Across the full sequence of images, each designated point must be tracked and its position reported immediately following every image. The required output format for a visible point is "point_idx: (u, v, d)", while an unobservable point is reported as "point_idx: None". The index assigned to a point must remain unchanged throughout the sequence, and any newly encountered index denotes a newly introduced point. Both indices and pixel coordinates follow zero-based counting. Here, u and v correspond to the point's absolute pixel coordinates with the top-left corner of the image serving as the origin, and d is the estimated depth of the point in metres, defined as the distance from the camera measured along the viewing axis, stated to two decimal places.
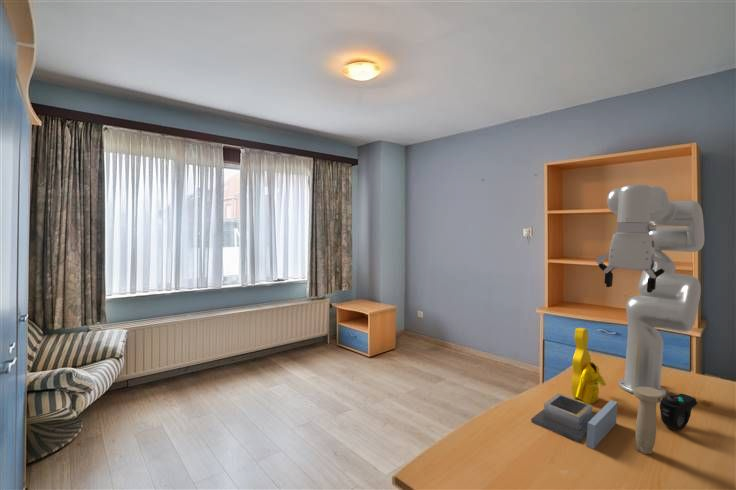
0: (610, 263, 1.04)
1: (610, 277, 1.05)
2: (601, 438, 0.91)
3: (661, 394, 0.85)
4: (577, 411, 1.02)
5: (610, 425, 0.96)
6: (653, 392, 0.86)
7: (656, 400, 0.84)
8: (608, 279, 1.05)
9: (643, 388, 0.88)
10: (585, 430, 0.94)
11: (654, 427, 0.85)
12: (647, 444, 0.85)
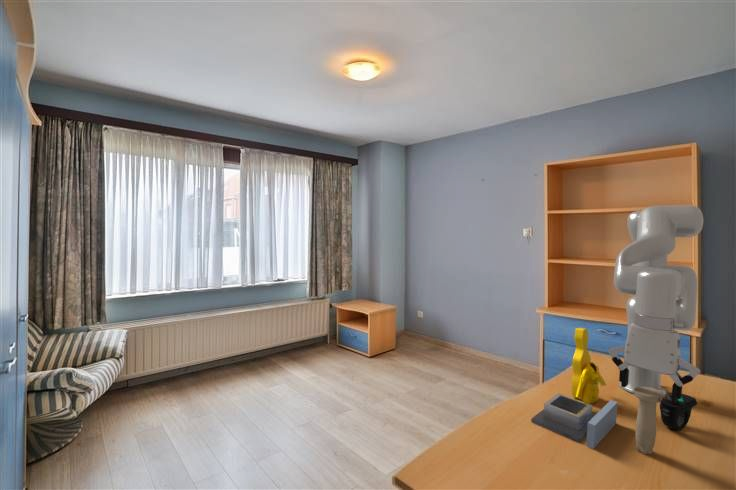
0: (626, 360, 0.88)
1: (626, 375, 0.89)
2: (601, 438, 0.91)
3: (661, 394, 0.85)
4: (577, 411, 1.02)
5: (610, 425, 0.96)
6: (653, 392, 0.86)
7: (656, 400, 0.84)
8: (624, 378, 0.88)
9: (643, 388, 0.88)
10: (585, 430, 0.94)
11: (654, 427, 0.85)
12: (647, 444, 0.85)
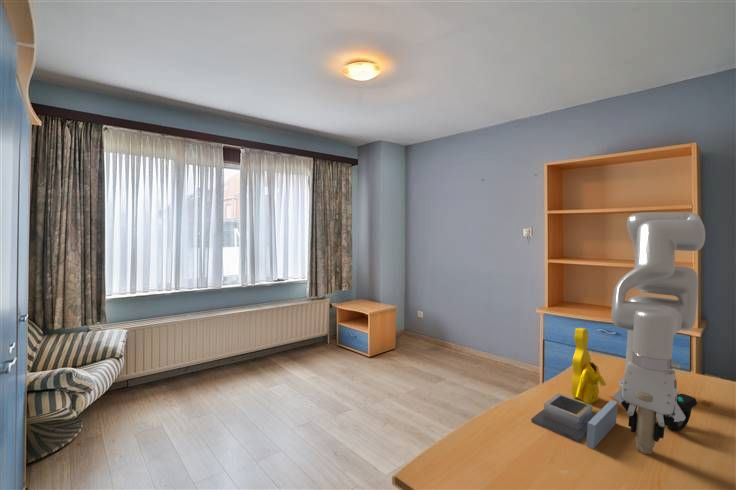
0: (624, 397, 0.88)
1: (635, 420, 0.88)
2: (601, 438, 0.91)
3: None
4: (577, 411, 1.02)
5: (610, 425, 0.96)
6: None
7: None
8: (633, 424, 0.88)
9: None
10: (585, 430, 0.94)
11: (654, 427, 0.85)
12: (647, 444, 0.85)
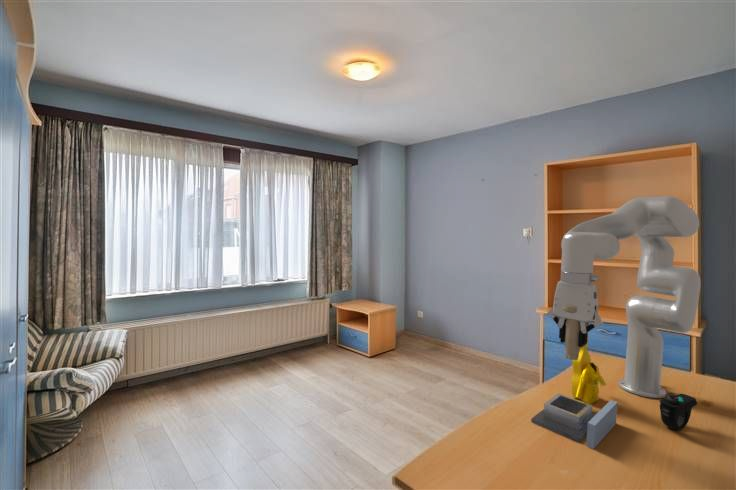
0: (554, 312, 1.00)
1: (564, 332, 1.00)
2: (601, 438, 0.91)
3: None
4: (577, 411, 1.02)
5: (610, 425, 0.96)
6: None
7: None
8: (562, 334, 0.99)
9: None
10: (585, 430, 0.94)
11: None
12: (573, 350, 0.97)
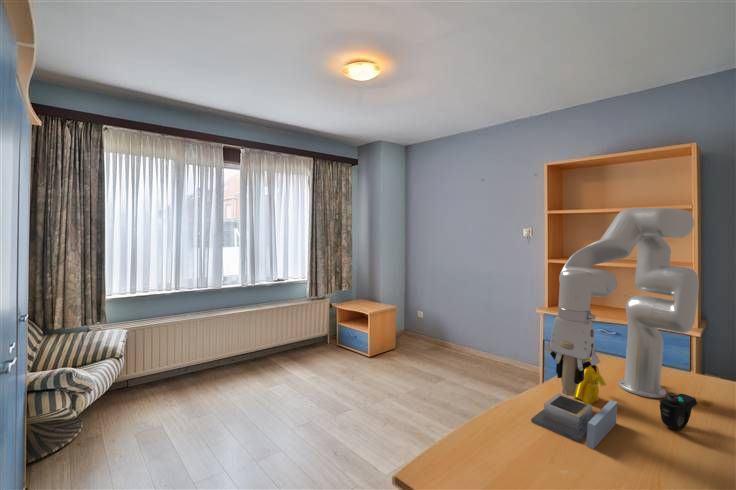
0: (552, 347, 1.01)
1: (561, 368, 1.01)
2: (601, 438, 0.91)
3: None
4: (577, 411, 1.02)
5: (610, 425, 0.96)
6: None
7: None
8: (559, 370, 1.00)
9: None
10: (585, 430, 0.94)
11: (575, 372, 0.98)
12: (569, 387, 0.98)
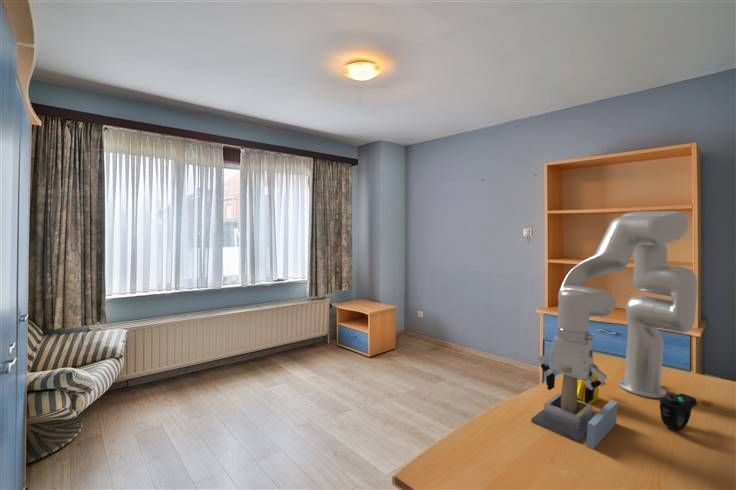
0: (551, 366, 1.02)
1: (551, 379, 1.03)
2: (601, 438, 0.91)
3: None
4: (577, 411, 1.02)
5: (610, 425, 0.96)
6: None
7: None
8: (549, 382, 1.02)
9: None
10: (585, 430, 0.94)
11: (575, 395, 0.98)
12: (569, 410, 0.99)
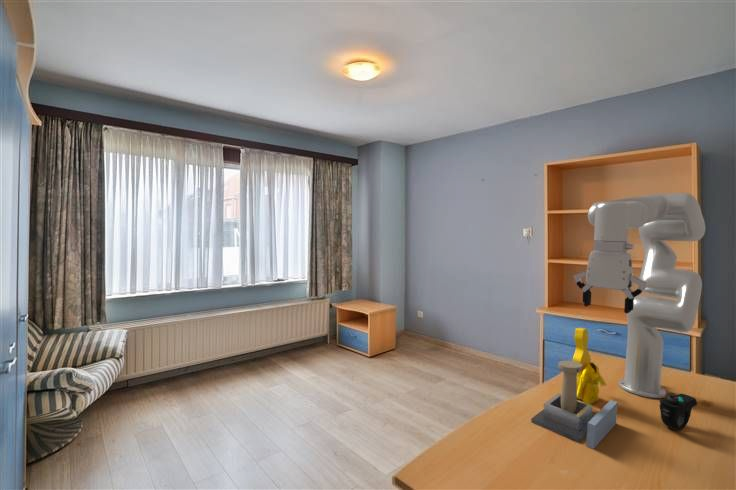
0: (587, 282, 1.00)
1: (588, 296, 1.02)
2: (601, 438, 0.91)
3: (580, 366, 0.98)
4: (577, 411, 1.02)
5: (610, 425, 0.96)
6: (574, 365, 0.99)
7: (575, 371, 0.97)
8: (586, 298, 1.01)
9: (567, 362, 1.01)
10: (585, 430, 0.94)
11: (574, 395, 0.98)
12: (569, 410, 0.99)
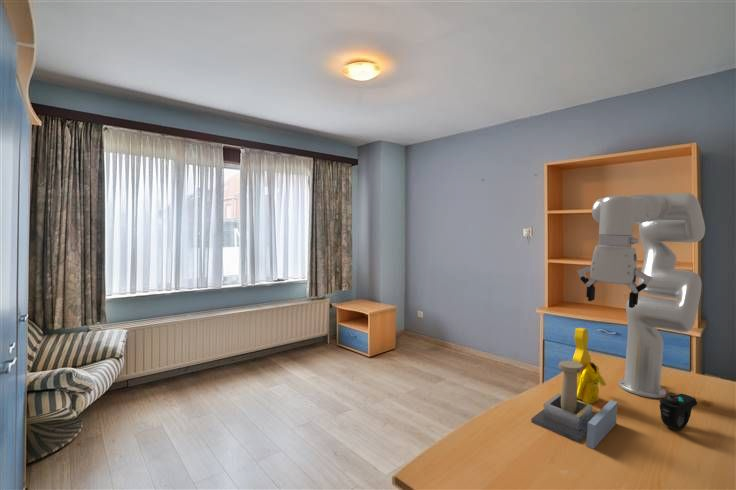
0: (592, 276, 1.00)
1: (592, 291, 1.01)
2: (601, 438, 0.91)
3: (580, 366, 0.98)
4: (577, 411, 1.02)
5: (610, 425, 0.96)
6: (574, 365, 0.99)
7: (575, 371, 0.97)
8: (590, 293, 1.01)
9: (567, 362, 1.01)
10: (585, 430, 0.94)
11: (575, 395, 0.98)
12: (569, 410, 0.99)
